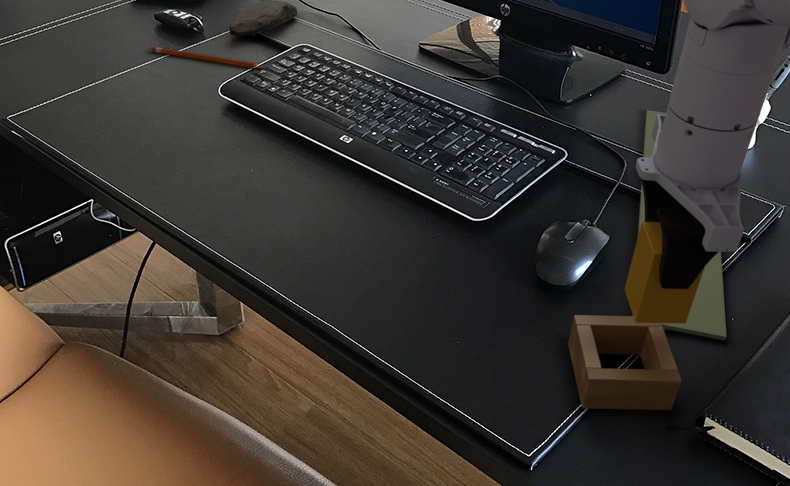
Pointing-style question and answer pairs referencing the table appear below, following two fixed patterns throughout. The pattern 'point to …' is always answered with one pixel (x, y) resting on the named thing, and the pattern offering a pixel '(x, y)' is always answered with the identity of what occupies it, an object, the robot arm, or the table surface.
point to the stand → (622, 385)
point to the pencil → (204, 57)
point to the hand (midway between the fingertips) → (666, 265)
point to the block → (655, 283)
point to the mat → (710, 295)
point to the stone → (261, 17)
